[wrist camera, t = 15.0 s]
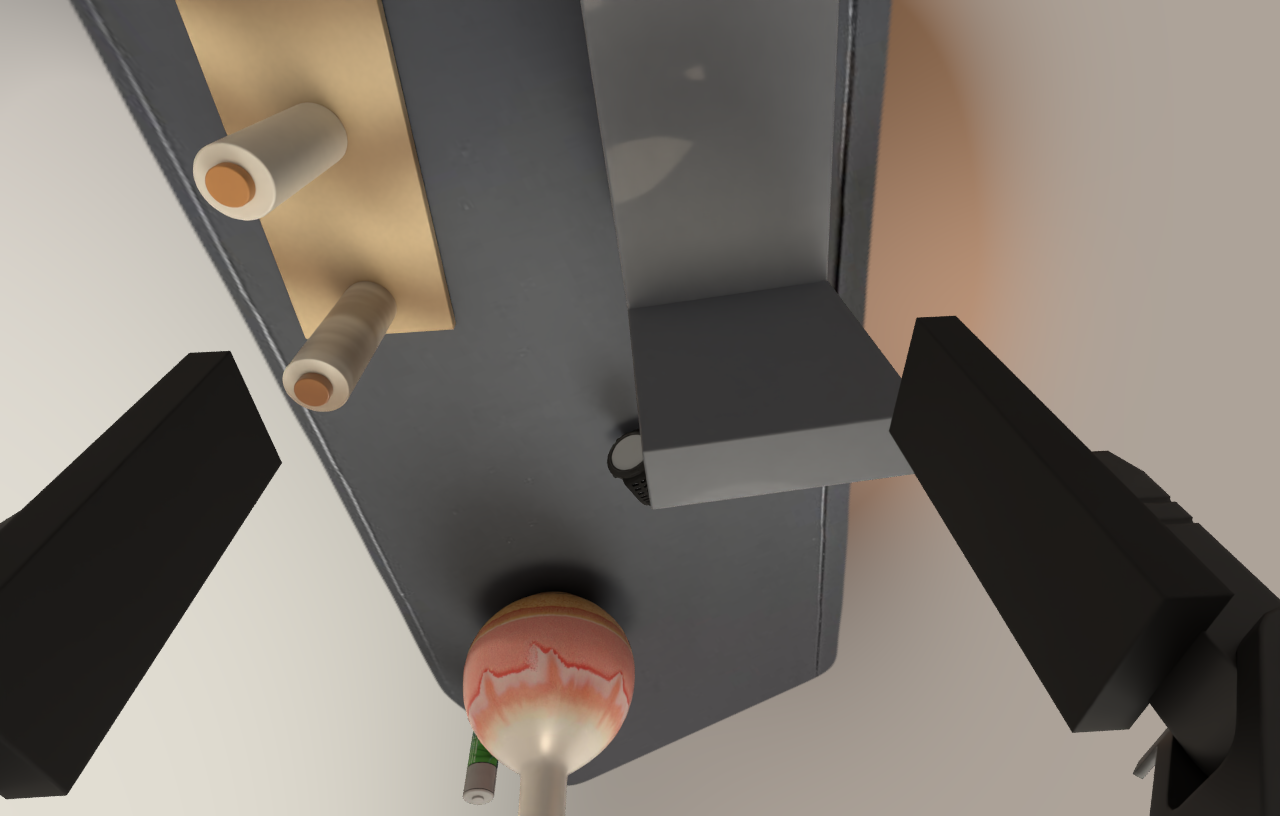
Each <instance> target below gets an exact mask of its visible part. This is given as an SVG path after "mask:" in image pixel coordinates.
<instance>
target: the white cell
mask: <svg viewBox="0 0 1280 816" xmlns="http://www.w3.org/2000/svg"><path fill="white" fill-rule="evenodd" d="M346 149H347V135H346V131H345V129H344V127H343V125H342V123H341V121H340V120H339V119H338V117H337V116H336V115H335V114H334V113H333V112H331V111H330V110H329V109H327V108H326V107H324V106H322V105H319V104H316V103H310V102H305V103H300V104H297V105H295V106H293V107H291V108H288V109H286V110H284V111H282V112H280V113H277V114H275V115H273V116H271V117H268V118H266V119H264V120H262V121H260V122H257V123H255V124H253V125H251V126H248V127H246V128H244V129H242V130H240V131H237V132H235V133H233V134H231V135H228V136H226V137H224V138H222V139H219V140H217V141H215V142H213V143H211V144H208V145H206V146H205V147H203V148H202V149H201V150H200V151H199V152H198V154H197V155H196V157H195V160H194V164H193V175H194V179H195V182H196V185H197V187H198V189H199V191H200V193H201V194H202V196H203V197H204V198H205V199H206V200H207V201H208V202H209V204H211V205H212V206H213V207H214V208H215V209H217V210H218V211H220V212H221V213H223V214H225V215H227V216H229V217H232V218H235V219H240V220H256V219H259V218H262V217H264V216H265V215H267V214H268V213H269V212H271V211H272V210H273V209H275V208H276V207H278V206H279V205H280V204H282V203H283V202H284V201H286V200H287V199H288V198H290V197H291V196H292V195H294V194H295V193H296V192H298V191H299V190H300V189H302V188H303V187H304V186H306V185H307V184H308V183H310V182H311V181H313V180H314V179H315V178H317V177H318V176H319V175H321V174H322V173H323V172H325V171H326V170H327V169H329V168H330V167H331V166H333V165H334V164H335V163H337V162H338V161H339V160H340V159H341V158H342V157H343V156H344V154H345V152H346Z"/></svg>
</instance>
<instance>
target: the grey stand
mask: <svg viewBox="0 0 1280 816" xmlns="http://www.w3.org/2000/svg"><path fill="white" fill-rule="evenodd" d="M580 3H581V9H582V16H583V22H584V29H585V35H586V42H587V48H588V55H589V61H590V68H591V74H592V81H593V87H594V94H595V100H596V107H597V113H598V119H599V126H600V132H601V139H602V145H603V152H604V158H605V165H606V171H607V178H608V184H609V191H610V197H611V204H612V210H613V217H614V223H615V230H616V236H617V243H618V249H619V256H620V262H621V269H622V275H623V282H624V288H625V295H626V301H627V308H628V317H629V327H630V337H631V347H632V357H633V367H634V377H635V387H636V397H637V407H638V417H639V427H640V437H641V447H642V455H643V461H644V468H645V474H646V480H647V486H648V492H649V498H650V504H651V508H652V509H660V508H668V507H675V506H682V505H690V504H697V503H704V502H712V501H719V500H726V499H734V498H741V497H748V496H756V495H763V494H770V493H778V492H785V491H792V490H800V489H807V488H814V487H822V486H829V485H836V484H844V483H851V482H858V481H865V480H873V479H880V478H888V477H895V476H902V475H910V474H914V472H913V470H912V469H911V467H910V465H909V464H908V462H907V460H906V459H905V457H904V455H903V454H902V452H901V451H900V449H899V447H898V446H897V444H896V442H895V441H894V439H893V437H892V436H891V434H890V433H889V428H890V424H891V420H892V416H893V412H894V408H895V404H896V400H897V396H898V392H899V388H900V383H901V377H900V376H899V375H898V373H897V372H896V371H895V369H894V368H893V367H892V365H891V364H890V363H889V361H888V360H887V359H886V357H885V356H884V355H883V354H882V352H881V351H880V349H879V348H878V347H877V345H876V344H875V343H874V342H873V340H872V339H871V338H870V336H869V335H868V333H867V332H866V331H865V330H864V328H863V327H862V326H861V324H860V323H859V322H858V320H857V319H856V318H855V316H854V315H853V314H852V312H851V311H850V310H849V308H848V307H847V306H846V304H845V303H844V302H843V300H842V299H841V298H840V296H839V295H838V294H837V292H836V291H835V290H834V288H833V287H832V286H831V284H830V283H829V282H828V281H827V269H828V246H829V223H830V200H831V177H832V154H833V131H834V107H835V84H836V61H837V38H838V15H839V0H580Z"/></svg>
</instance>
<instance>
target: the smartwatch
mask: <svg viewBox="0 0 1280 816" xmlns="http://www.w3.org/2000/svg"><path fill="white" fill-rule="evenodd" d="M607 464H608V468H609V470H610V472H611V473H612V474H613V476H614V477H615V478H621V479H623V482H624V484H625V485H626V486H627V488H628V489H629V490H630V491H631V492H632V493H633V494H634V495H635V496H636V498H637V499H638V500H639V501H640V502H641V503H643V504H644V505H650V506H651V504H650V498H649V492H648V486H647V480H646V474H645V468H644V461H643V455H642V447H641V437H640V428H639V429H637V430H634V431H632V432H629V433H627V434H625V435H623V436H622V437H620V438H618V439H617V440H616V443H615V444H614V445H613V446H612V448H611V450H610V452H609V454H608V459H607ZM642 480H644V481H642ZM636 483H638V484H636ZM644 485H645V486H644ZM637 488H638V489H637ZM640 492H642V493H640ZM644 495H646V496H644ZM641 496H643V497H641Z"/></svg>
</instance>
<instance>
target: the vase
mask: <svg viewBox="0 0 1280 816" xmlns="http://www.w3.org/2000/svg"><path fill="white" fill-rule="evenodd" d="M634 680H635V666H634V658H633V654H632V650H631V647H630V643H629V641H628V639H627V637H626V635H625V633H624V631H623V630H622V628H621V627H620V625H619V624H618V623H617V622H616V621H615V620H614V618H613V617H612V616H611V615H610V614H608V613H607V612H606V611H605V610H603V609H602V608H601V607H599V606H598V605H596V604H594V603H593V602H591V601H588V600H586V599H583V598H581V597H579V596H576V595H574V594H570V593H566V592H558V591H549V592H541V593H537V594H534V595H531V596H529V597H525V598H522V599H520V600H517V601H515V602H513V603H511V604H509V605H507V606H505V607H504V608H502V609H501V610H500V611H498V612H497V613H496V614H494V615H493V616H492V617H491V618H490V619H489V620H488V621H487V622H486V623H485V624H484V625H483V627H482V628H481V629H480V630H479V632H478V633H477V635H476V637H475V639H474V640H473V642H472V644H471V646H470V649H469V651H468V655H467V658H466V662H465V666H464V673H463V697H464V704H465V708H466V712H467V716H468V719H469V722H470V724H471V726H472V728H473V730H474V732H475V734H476V736H477V737H478V739H479V740H480V742H481V743H482V744H483V746H484V747H485V748H486V749H487V750H488V751H489V752H490V753H491V755H493V756H494V757H495V758H496V759H497V760H498V761H500V762H501V763H502V764H503V765H505V766H506V767H508V768H509V769H511V770H512V771H514V772H516V773H517V774H519V775H520V776H521V782H520V797H519V810H518V816H565V806H566V788H567V776H568V775H569V774H571V773H572V772H574V771H576V770H577V769H579V768H581V767H582V766H584V765H585V764H587V763H588V762H590V761H591V760H592V759H593V758H595V757H596V756H597V755H598V754H600V753H601V752H602V751H603V750H604V749H605V748H606V746H607V745H608V744H609V743H610V742H611V741H612V740H613V738H614V737H615V735H616V734H617V733H618V731H619V729H620V728H621V726H622V724H623V722H624V720H625V718H626V716H627V713H628V710H629V707H630V704H631V700H632V696H633V691H634Z"/></svg>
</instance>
